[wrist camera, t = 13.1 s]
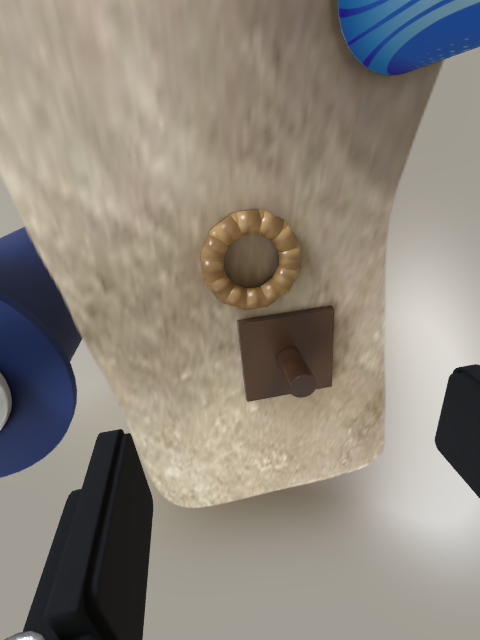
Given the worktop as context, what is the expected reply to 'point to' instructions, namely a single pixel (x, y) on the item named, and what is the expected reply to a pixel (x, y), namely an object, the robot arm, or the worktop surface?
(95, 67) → the worktop surface
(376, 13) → the beer can
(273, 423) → the worktop surface
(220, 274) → the ring
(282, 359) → the peg stand
